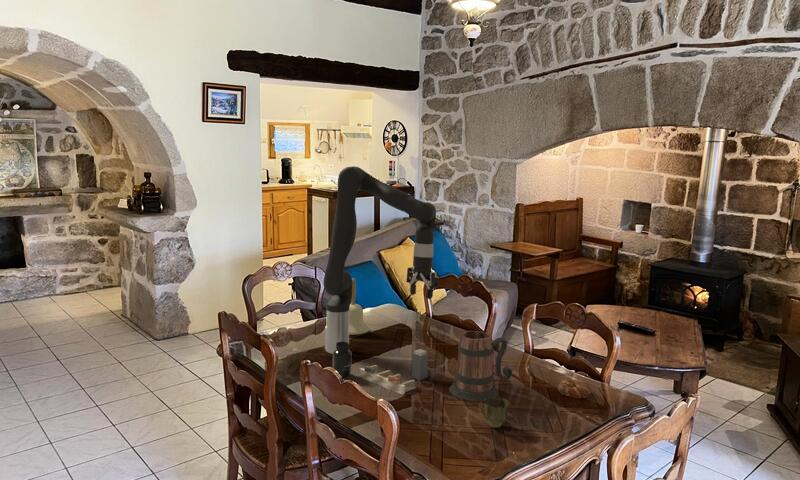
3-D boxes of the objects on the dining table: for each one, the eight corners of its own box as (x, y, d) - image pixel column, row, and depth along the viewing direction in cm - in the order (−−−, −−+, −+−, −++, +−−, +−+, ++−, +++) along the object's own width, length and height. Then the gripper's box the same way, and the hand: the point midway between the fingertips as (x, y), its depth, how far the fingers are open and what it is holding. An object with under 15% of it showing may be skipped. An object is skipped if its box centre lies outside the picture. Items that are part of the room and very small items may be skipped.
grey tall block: (411, 377, 214) (412, 350, 213) (419, 374, 217) (420, 348, 215) (420, 380, 211) (420, 353, 210) (427, 377, 214) (428, 351, 213)
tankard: (464, 403, 192) (467, 344, 189) (440, 385, 207) (442, 330, 204) (524, 393, 202) (527, 337, 199) (496, 376, 217) (499, 324, 214)
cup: (480, 420, 180) (481, 396, 179) (504, 420, 180) (505, 395, 179) (486, 432, 172) (487, 406, 171) (510, 432, 173) (512, 406, 172)
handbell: (328, 333, 264) (328, 278, 260) (349, 325, 276) (350, 273, 272) (355, 339, 255) (356, 283, 251) (376, 331, 267) (377, 278, 264)
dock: (358, 376, 213) (359, 364, 212) (373, 371, 218) (373, 359, 217) (402, 394, 198) (402, 381, 197) (416, 389, 203) (417, 376, 202)
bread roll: (549, 389, 207) (550, 379, 207) (574, 385, 212) (574, 375, 211) (571, 402, 197) (572, 391, 196) (597, 397, 201) (598, 387, 200)
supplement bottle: (348, 379, 210) (348, 347, 208) (329, 377, 211) (330, 345, 209) (353, 373, 216) (354, 341, 215) (335, 371, 218) (336, 339, 216)
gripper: (403, 253, 227) (401, 294, 229) (430, 258, 217) (428, 301, 219) (416, 251, 232) (414, 292, 234) (443, 256, 222) (441, 298, 224)
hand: (421, 296), depth 226 cm, fingers open, 8 cm apart
